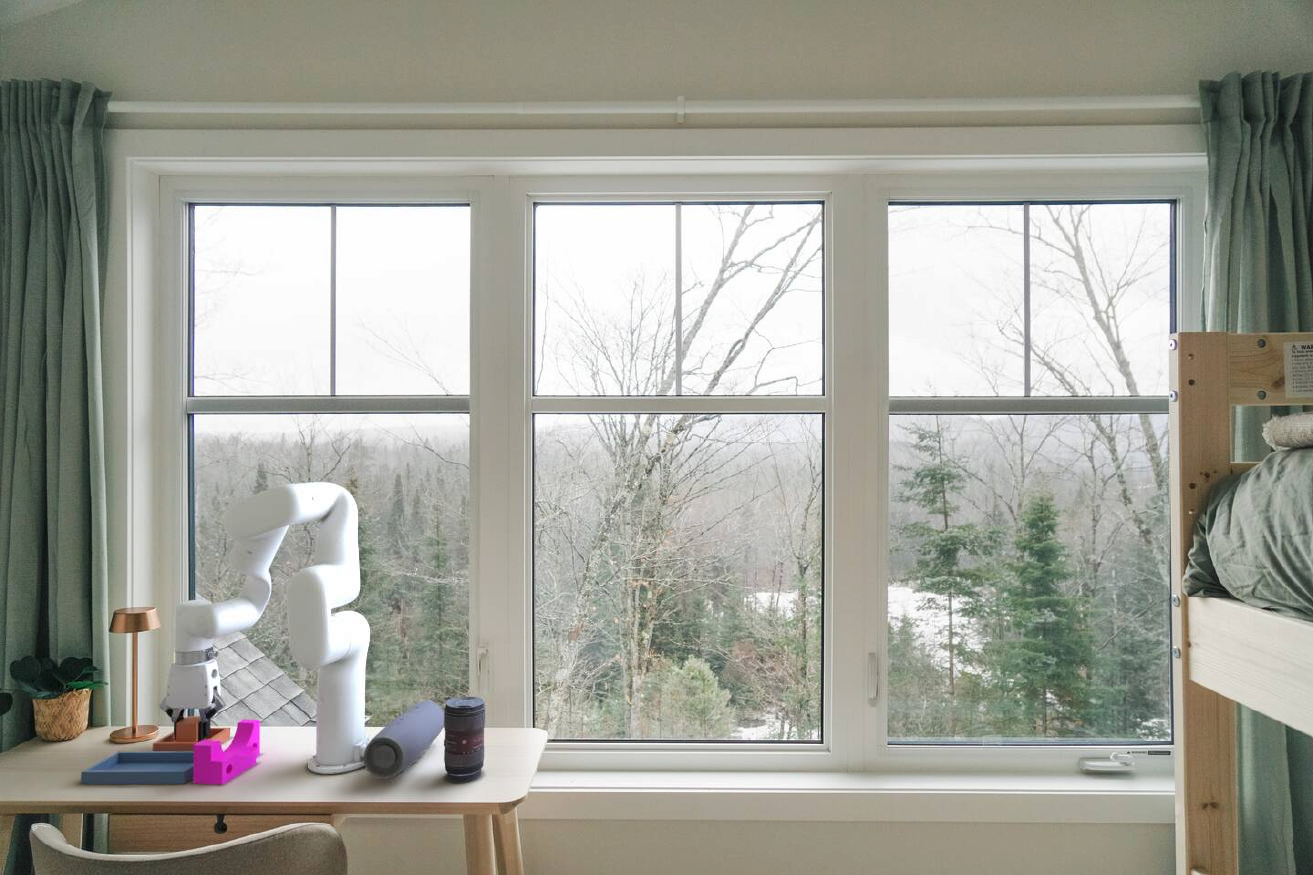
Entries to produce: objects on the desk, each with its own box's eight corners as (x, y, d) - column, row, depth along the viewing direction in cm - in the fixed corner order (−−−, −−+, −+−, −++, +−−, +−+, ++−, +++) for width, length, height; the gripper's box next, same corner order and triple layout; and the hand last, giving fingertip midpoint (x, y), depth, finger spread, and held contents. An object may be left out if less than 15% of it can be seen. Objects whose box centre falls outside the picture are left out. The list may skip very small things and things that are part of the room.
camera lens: (484, 782, 153) (485, 706, 154) (442, 786, 152) (442, 709, 152) (485, 766, 161) (485, 694, 162) (445, 769, 160) (445, 696, 160)
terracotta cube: (208, 736, 175) (208, 716, 175) (196, 743, 171) (196, 723, 171) (188, 735, 175) (188, 716, 175) (175, 743, 171) (176, 722, 171)
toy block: (222, 784, 152) (222, 746, 153) (193, 782, 153) (193, 744, 154) (270, 755, 167) (270, 720, 168) (243, 753, 168) (244, 719, 168)
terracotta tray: (230, 737, 178) (230, 727, 178) (205, 754, 168) (206, 743, 168) (179, 738, 178) (179, 727, 178) (152, 754, 168) (152, 743, 168)
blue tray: (215, 762, 164) (215, 750, 164) (184, 783, 153) (184, 771, 153) (117, 762, 164) (118, 751, 164) (80, 783, 153) (80, 771, 153)
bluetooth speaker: (407, 741, 175) (408, 697, 175) (447, 742, 174) (447, 698, 175) (360, 784, 153) (360, 733, 153) (405, 786, 152) (405, 734, 152)
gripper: (239, 652, 177) (238, 732, 177) (166, 651, 177) (164, 732, 177) (221, 660, 169) (220, 744, 169) (144, 660, 169) (143, 744, 169)
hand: (192, 737), depth 173 cm, fingers closed on terracotta cube, 4 cm apart
